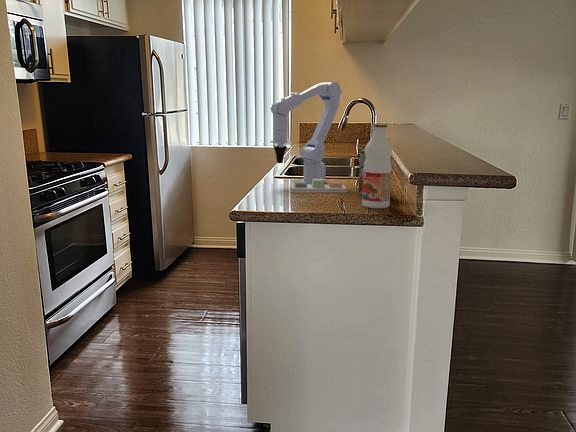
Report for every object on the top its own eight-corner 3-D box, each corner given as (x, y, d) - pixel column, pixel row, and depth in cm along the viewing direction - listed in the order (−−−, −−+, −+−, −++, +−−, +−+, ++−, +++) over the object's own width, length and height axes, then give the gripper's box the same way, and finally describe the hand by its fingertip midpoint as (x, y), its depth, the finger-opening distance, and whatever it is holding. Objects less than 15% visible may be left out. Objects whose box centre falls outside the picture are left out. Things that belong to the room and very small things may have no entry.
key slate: (305, 187, 209) (305, 181, 209) (306, 189, 205) (306, 183, 204) (294, 187, 209) (294, 181, 208) (295, 189, 205) (295, 183, 204)
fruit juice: (392, 208, 174) (397, 124, 168) (365, 209, 173) (369, 124, 167) (385, 203, 183) (389, 123, 177) (359, 203, 182) (362, 123, 176)
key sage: (322, 184, 210) (322, 178, 209) (324, 186, 205) (324, 180, 205) (311, 184, 209) (312, 178, 209) (313, 186, 205) (313, 180, 204)
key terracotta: (339, 187, 210) (339, 181, 210) (341, 189, 206) (341, 183, 206) (328, 187, 210) (329, 181, 210) (330, 189, 206) (330, 183, 205)
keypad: (342, 188, 213) (342, 184, 213) (347, 192, 204) (347, 188, 203) (289, 188, 212) (289, 184, 211) (291, 192, 202) (291, 188, 202)
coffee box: (385, 194, 200) (387, 153, 197) (380, 197, 195) (382, 154, 191) (363, 192, 205) (364, 151, 201) (357, 194, 199) (359, 153, 195)
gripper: (269, 129, 221) (269, 160, 224) (271, 131, 207) (271, 165, 210) (286, 129, 222) (285, 160, 225) (288, 131, 207) (288, 165, 210)
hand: (279, 163), depth 217 cm, fingers closed
